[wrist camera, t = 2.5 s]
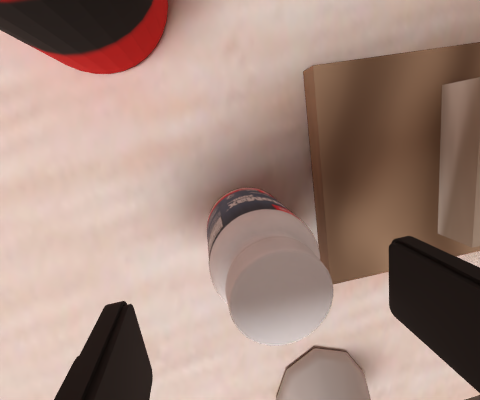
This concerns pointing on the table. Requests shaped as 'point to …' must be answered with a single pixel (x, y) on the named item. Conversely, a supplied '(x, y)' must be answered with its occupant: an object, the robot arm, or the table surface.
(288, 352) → the table surface
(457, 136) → the socket board
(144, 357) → the robot arm
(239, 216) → the pill bottle
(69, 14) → the soda can
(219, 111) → the table surface
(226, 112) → the table surface
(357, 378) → the flask
